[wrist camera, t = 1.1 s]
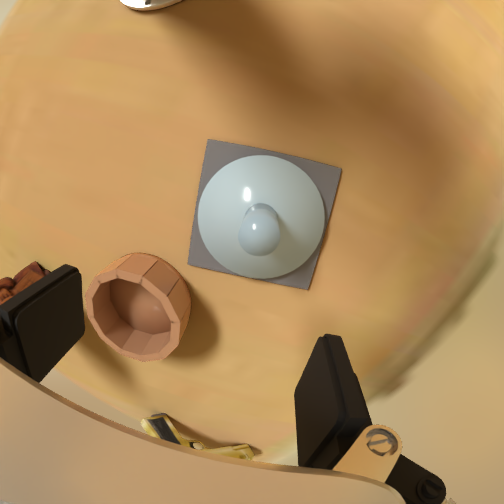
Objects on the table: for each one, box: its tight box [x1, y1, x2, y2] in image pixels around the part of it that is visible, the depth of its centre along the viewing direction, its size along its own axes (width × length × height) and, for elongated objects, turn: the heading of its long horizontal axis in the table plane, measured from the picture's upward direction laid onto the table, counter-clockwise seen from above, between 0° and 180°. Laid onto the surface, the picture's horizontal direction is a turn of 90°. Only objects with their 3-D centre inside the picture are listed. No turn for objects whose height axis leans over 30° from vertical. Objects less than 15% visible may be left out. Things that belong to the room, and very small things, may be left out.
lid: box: [198, 155, 325, 279], centre depth 26 cm, size 13×13×7 cm
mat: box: [188, 139, 341, 290], centre depth 30 cm, size 14×14×1 cm
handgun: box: [141, 413, 254, 460], centre depth 41 cm, size 2×19×12 cm
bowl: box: [85, 253, 191, 362], centre depth 31 cm, size 12×12×6 cm
